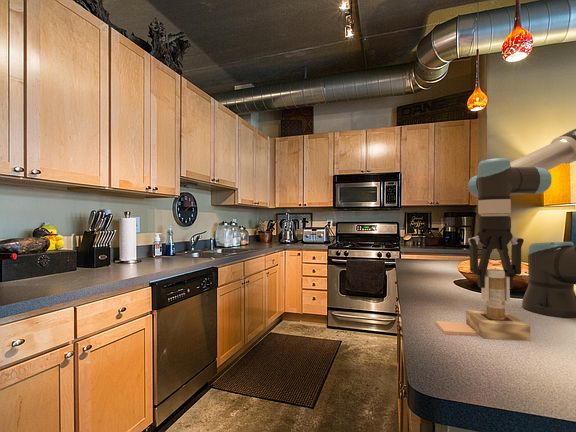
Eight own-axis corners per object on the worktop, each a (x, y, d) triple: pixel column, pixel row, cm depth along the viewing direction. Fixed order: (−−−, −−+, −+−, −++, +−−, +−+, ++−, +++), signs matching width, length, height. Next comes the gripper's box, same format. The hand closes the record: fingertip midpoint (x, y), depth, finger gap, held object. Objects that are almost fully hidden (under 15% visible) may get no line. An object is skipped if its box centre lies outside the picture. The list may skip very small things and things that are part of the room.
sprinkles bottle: (493, 314, 88) (492, 267, 88) (509, 319, 84) (509, 270, 84) (482, 316, 86) (481, 269, 86) (498, 322, 82) (497, 271, 82)
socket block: (507, 325, 89) (507, 312, 89) (530, 340, 79) (530, 325, 79) (466, 323, 91) (466, 310, 91) (483, 338, 80) (483, 322, 80)
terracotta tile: (464, 325, 90) (464, 322, 90) (476, 335, 82) (476, 332, 82) (435, 323, 91) (435, 321, 91) (444, 333, 83) (444, 331, 83)
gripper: (521, 214, 87) (522, 297, 87) (455, 215, 90) (456, 295, 90) (538, 214, 80) (539, 304, 80) (465, 215, 83) (466, 302, 83)
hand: (495, 299), depth 85 cm, fingers closed on sprinkles bottle, 4 cm apart
